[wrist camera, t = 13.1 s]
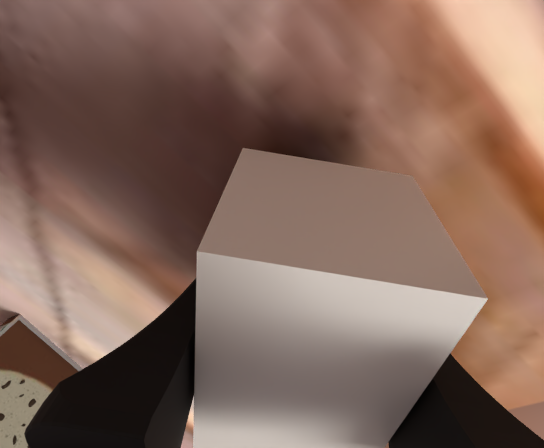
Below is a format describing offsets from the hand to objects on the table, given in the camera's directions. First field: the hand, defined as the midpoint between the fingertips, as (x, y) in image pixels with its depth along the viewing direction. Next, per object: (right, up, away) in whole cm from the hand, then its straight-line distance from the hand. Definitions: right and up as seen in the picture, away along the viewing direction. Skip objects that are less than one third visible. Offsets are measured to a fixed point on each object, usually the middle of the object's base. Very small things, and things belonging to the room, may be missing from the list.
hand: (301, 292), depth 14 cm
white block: (0, +1, +1) cm, 2 cm away
